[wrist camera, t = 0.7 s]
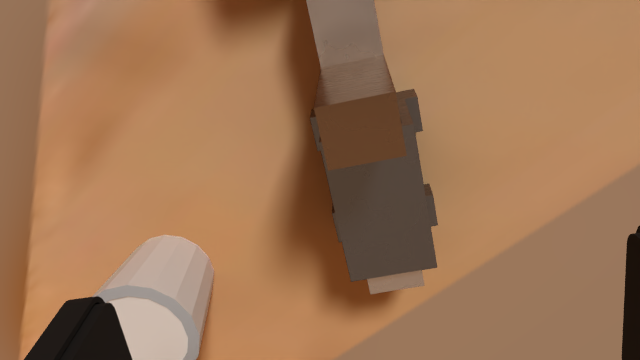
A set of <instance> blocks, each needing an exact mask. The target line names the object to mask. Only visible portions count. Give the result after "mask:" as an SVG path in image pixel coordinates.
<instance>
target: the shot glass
mask: <svg viewBox="0 0 640 360" xmlns="http://www.w3.org/2000/svg"><path fill="white" fill-rule="evenodd" d="M213 280H214V269H213V267H212V264H211V261H210V259H209V257H208V256H207V254H206V253H205V252H204V251H203V250H202V249H201V248H200V247H199V246H198V245H197V244H195V243H193V242H191V241H189V240H187V239H185V238H183V237H178V236H170V235H162V236H158V237H154V238H149V239H148V240H147V241H145V242H144V243H143V244H141V245H140V246H138V247H137V248H136V249H135V250H134V252H133V253H132V254H131V255H130V256H129V257H128V258H127V259H126V260H125V261H124V262H123V264H122V265H121V266H120V267H119V268H118V269H117V270H116V271H115V272H114V273H113V274H112V276H111V277H110V278H109V279H108V280H107V281H106V282H105V283H104V284H103V285H102V286H101V288H100V289H99V290H98V291H97V292H96V293H95V294H94V295H93V296H92V297H96V296H99V297H101V298H102V299H103V300H104V301H105V303H112V305H113V306H114V308H115V310H116V313H117V316H118V319H119V322H120V325H121V328H122V330H123V333H124V336H125V339H126V342H127V345H128V348H129V351H130V354H131V357H132V360H196V359H197V357H198V355H199V351H200V346H201V341H202V336H203V331H204V327H205V322H206V317H207V312H208V307H209V303H210V298H211V293H212V288H213Z"/></svg>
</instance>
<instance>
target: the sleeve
mask: <svg viewBox="0 0 640 360" xmlns="http://www.w3.org/2000/svg"><path fill="white" fill-rule="evenodd" d="M396 96H397V102H398V108H399V114H400V120H401V125H402V131H403V137H404V143H405V148H406V154H407V156H403V157H398V158H393V159H387V160H382V161H377V162H372V163H366V164H361V165H356V166H350V167H345V168H340V169H335V170H329V171H328V168H327V163H326V159H325V154H324V150H323V146H322V141H321V137H320V133H319V128H318V124H317V120H316V115H315V111H314V109H312V110H311V115H310V120H311V125H312V129H313V133H314V137H315V142H316V146H317V150H318V151H321V154H322V158H323V162H324V167H325V171H326V175H327V180H328V184H329V188H330V192H331V197H332V201H333V206H332V215H333V219H334V223H335V228H336V232H337V236H338V240H339V242H342V244H343V249H344V253H345V257H346V262H347V266H348V270H349V275H350V279H351V282H353V281H359V280H365V279H371V278H377V277H383V276H389V275H395V274H401V273H407V272H413V271H419V270H425V269H431V268H437V263H436V257H435V250H434V244H433V238H432V232H431V226H436V225H438V223H437V217H436V211H435V205H434V198H433V194H432V191H431V188H430V185H429V184H425V185H424V184H423V178H422V172H421V166H420V160H419V154H418V148H417V141H416V135H415V132H419V131H423V130H422V123H421V117H420V111H419V105H418V98H417V95H416V93H415V91H414V89H411V90H406V91H401V92H396Z"/></svg>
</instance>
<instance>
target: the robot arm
mask: <svg viewBox="0 0 640 360" xmlns="http://www.w3.org/2000/svg"><path fill="white" fill-rule="evenodd" d="M625 277H626V278H625V298H624V321H623V343H622V360H640V226H639V227H638V229H637V231H636V233H635V234H630V235H629V237H628V240H627V254H626V276H625ZM24 360H132V357H131V354H130V351H129V348H128V345H127V342H126V339H125V336H124V333H123V330H122V328H121V325H120V322H119V319H118V316H117V313H116V310H115V308H114V306H113V305H112V303H105V301H104V300H103V299H102V298H101V297H99V296H96V297H88V298H81V299H73V300H68V301H66V302H65V303H64V304H63V306H62V307H61V309H60V310H59V311H58V313H57V314H56V315H55V317H54V318H53V320H52V321H51V322H50V324H49V325H48V327H47V328H46V329H45V331H44V332H43V334H42V335H41V336H40V338H39V339H38V341H37V342H36V343H35V345H34V346H33V348H32V349H31V350H30V352H29V353H28V355H27V356H26V357H25V359H24Z"/></svg>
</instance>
